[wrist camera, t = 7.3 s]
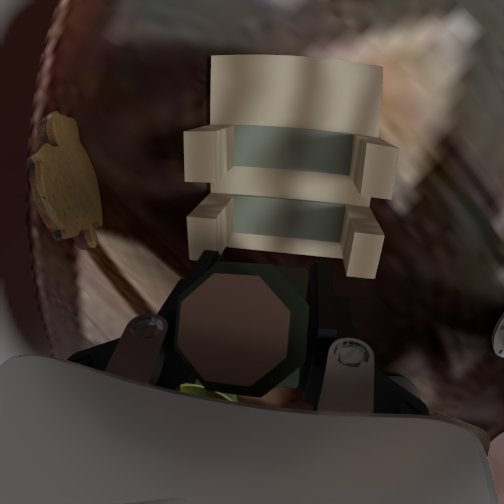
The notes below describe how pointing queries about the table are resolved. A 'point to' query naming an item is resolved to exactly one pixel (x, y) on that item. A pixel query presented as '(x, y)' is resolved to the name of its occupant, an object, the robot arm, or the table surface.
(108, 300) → the table surface
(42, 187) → the wooden carving
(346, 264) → the rest
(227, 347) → the wine bottle
